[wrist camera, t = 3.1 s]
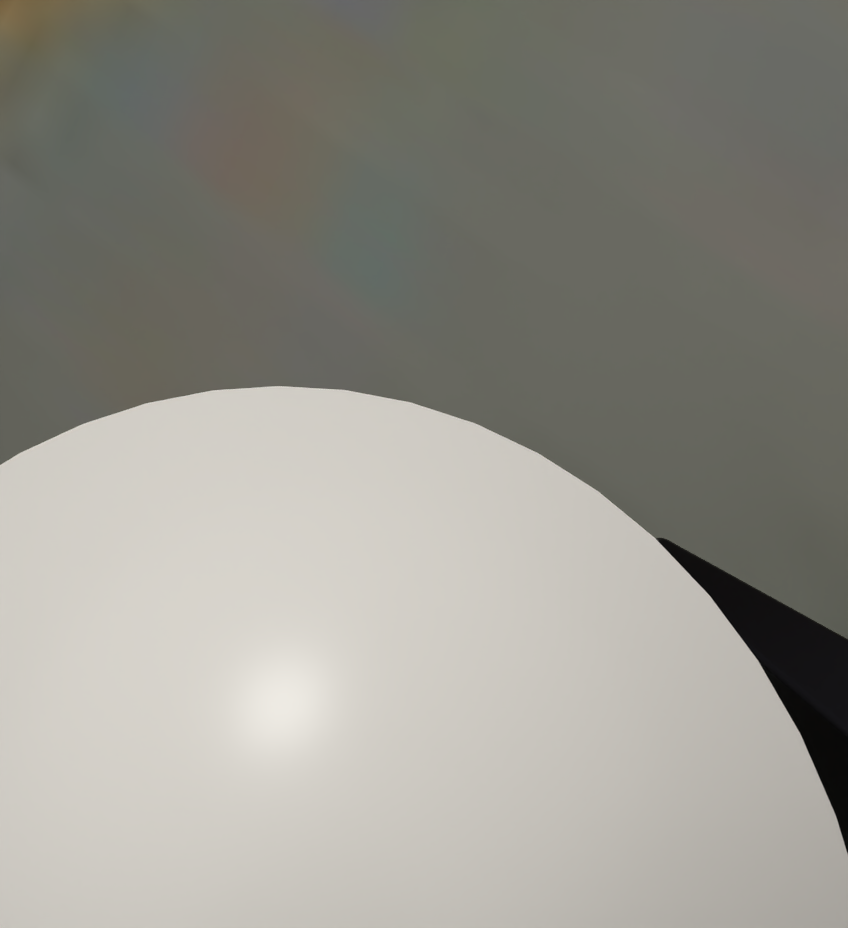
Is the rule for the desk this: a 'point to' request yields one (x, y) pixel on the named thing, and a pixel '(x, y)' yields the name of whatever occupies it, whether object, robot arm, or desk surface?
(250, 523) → the white rounded cylinder
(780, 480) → the desk surface
